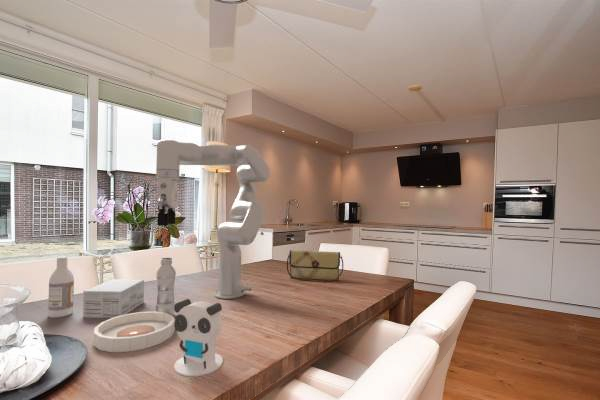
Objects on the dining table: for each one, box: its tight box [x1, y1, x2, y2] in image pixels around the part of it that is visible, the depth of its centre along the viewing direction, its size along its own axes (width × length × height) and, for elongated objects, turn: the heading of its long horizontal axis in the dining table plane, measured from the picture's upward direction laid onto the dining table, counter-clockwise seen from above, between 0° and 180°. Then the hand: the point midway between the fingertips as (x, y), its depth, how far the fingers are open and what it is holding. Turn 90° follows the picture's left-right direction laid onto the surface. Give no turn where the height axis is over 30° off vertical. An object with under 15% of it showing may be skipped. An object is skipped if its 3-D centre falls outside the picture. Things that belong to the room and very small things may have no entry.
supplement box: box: [82, 278, 145, 319], centre depth 117 cm, size 17×13×9 cm
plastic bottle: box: [154, 257, 177, 316], centre depth 111 cm, size 6×7×20 cm
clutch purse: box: [286, 249, 344, 283], centre depth 166 cm, size 30×7×15 cm, turn 81°
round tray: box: [93, 311, 176, 353], centre depth 94 cm, size 21×21×4 cm
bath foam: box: [47, 256, 75, 319], centre depth 111 cm, size 7×7×20 cm
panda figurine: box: [173, 298, 223, 377], centre depth 78 cm, size 12×11×15 cm
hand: (166, 224), depth 111 cm, fingers open, 9 cm apart
